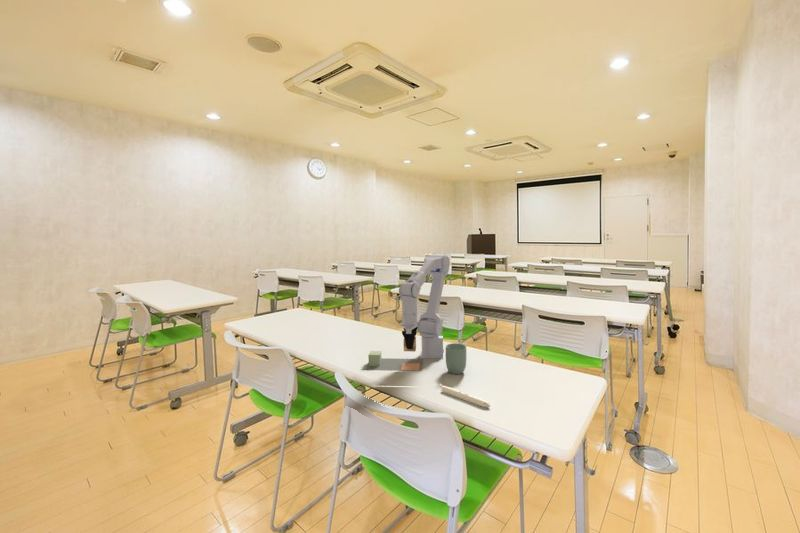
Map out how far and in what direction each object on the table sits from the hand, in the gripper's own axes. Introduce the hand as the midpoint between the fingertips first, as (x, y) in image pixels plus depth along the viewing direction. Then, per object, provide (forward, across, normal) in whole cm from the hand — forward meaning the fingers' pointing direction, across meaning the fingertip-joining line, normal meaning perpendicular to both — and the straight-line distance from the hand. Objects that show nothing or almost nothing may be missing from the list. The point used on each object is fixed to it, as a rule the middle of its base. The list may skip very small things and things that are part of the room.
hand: (410, 347), depth 140 cm
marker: (+9, +26, +19) cm, 33 cm away
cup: (+9, +4, +18) cm, 20 cm away
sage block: (+8, -2, -14) cm, 17 cm away
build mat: (+8, -2, -6) cm, 11 cm away
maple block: (+1, 0, 0) cm, 1 cm away
